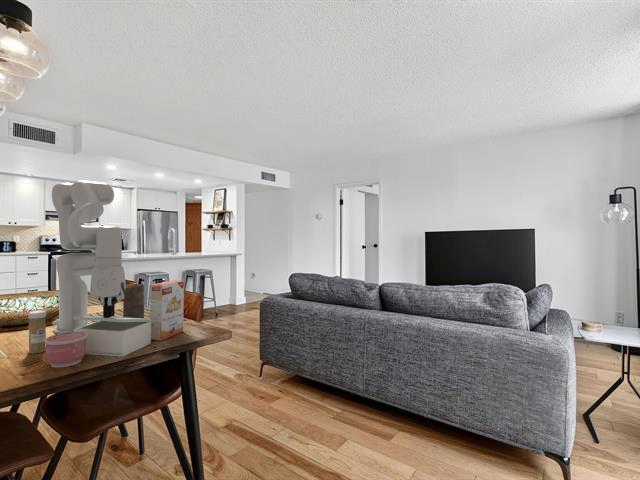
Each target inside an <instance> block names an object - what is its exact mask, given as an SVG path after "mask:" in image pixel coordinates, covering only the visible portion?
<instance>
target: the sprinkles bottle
mask: <svg viewBox="0 0 640 480" xmlns="http://www.w3.org/2000/svg"><path fill="white" fill-rule="evenodd" d="M46 319H47V311H46V310H35V311H30V312H28V354H31V355H32V354H33V355H34V354H40V353H43V352H46V344H45V339H46V338H47V336H46V335H47V332H46V326H47V325H46Z"/></svg>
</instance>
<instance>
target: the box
mask: <svg viewBox="0 0 640 480" xmlns="http://www.w3.org/2000/svg"><path fill="white" fill-rule="evenodd" d="M88 324H89V325H86V326H82V327H79V328H76V329H74V332H83V333H86V334H87V338H86V353H85V355H96V356H107V357H121V358H122V357H125V356H127V355H129V354H131V353H133V352H136V351H137V350H140V349H142V348H145V347H146V346H148V345H150V344H151V342H152V340H151V321H145V322H111V321H95V322H92V323H88Z"/></svg>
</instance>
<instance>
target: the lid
mask: <svg viewBox="0 0 640 480" xmlns="http://www.w3.org/2000/svg"><path fill="white" fill-rule="evenodd" d="M73 319H74V320H87V321H93V322H94V321H95V322H99V321H111V322H145V321H151V320H152V319H149V318H145V317H144V318H132V317H123V316H112V317H109V318H104V317H103V315H101V316H87V317H73Z"/></svg>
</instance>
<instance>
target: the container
mask: <svg viewBox="0 0 640 480" xmlns="http://www.w3.org/2000/svg"><path fill="white" fill-rule="evenodd" d="M86 338H87V334H86V333H83V332H71V333H63V334H55V335H50V336H47V337H46V339H45V348H46V350H45V357H46V361H47V362H48V364H50V366H51V367H52V368H65V367H66V368H67V367H71V366H74V365H77V364H80V363H82V359H83V358H84V357H85V356H86V354H85V353H86Z"/></svg>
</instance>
